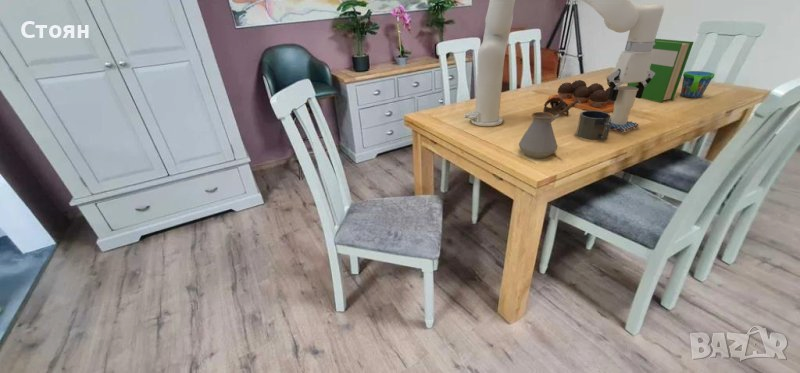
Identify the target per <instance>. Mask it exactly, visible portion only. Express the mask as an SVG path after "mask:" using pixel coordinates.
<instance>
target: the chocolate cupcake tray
mask: <svg viewBox="0 0 800 373" xmlns="http://www.w3.org/2000/svg"><path fill="white" fill-rule="evenodd" d="M610 89H611V88H609V87H608V88H606V89H605V88H604V86H603V85H602V84H600V83H598V82H596V83H592V84H590V85H589V86H588V85H587V83H586V81H584V80H581V79H579V80H575V81H573V82H564V83H561V85H559V86H558V88H557V94H553V95H549V96H548V100H549V99H551V98H553V97H560V98H562V99H563V100H564V101H565V102H566V103H567V105H568V106H569V105H571V103H574V102H575V101H576V100H579V101H580V102H581V103H580V102H579V101H578V103H576V104H577V105H576V104H575V106H573V108H579V109H582V110H584V111H601V112H605V113H611V112H613V110H614V103H615V101H612V100H609V99H608V97H609V93H610ZM558 102H559V103H560V101H558ZM578 105H580V106H578Z"/></svg>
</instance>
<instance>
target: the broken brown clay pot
mask: <svg viewBox="0 0 800 373" xmlns="http://www.w3.org/2000/svg"><path fill="white" fill-rule="evenodd" d="M558 101H560V102H558ZM548 105H550V107H549V106H548ZM543 106H544V107H543V110H542V112H547V113H551V114H556V113H557V114H558V113H559V112H561V111H562V110H563V109H564V108H565V107H567V106H569V105H567V103H566V102H565V101H564V100H563V99H562V98H560V97H553V98H551V99H548V100H546V101H545V102H544V104H543ZM569 113H570V110H568V111H566V112H565V113H564V114H566V115H567V116H569Z"/></svg>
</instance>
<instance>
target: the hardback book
mask: <svg viewBox="0 0 800 373" xmlns="http://www.w3.org/2000/svg"><path fill="white" fill-rule="evenodd" d="M654 42H655V46H653V48H652V51H653V52H652V61H651V66H650V70H652V71H653V72H655V75H654V76H653V78H651V81H650V82H649V83H648V84H647V86H646V87H644V91H643V94H642V97H641V98H640V99H645V100H649V101H652V102H657V103H663V102H664V101H666V100H668V101H674V99H675V96H676V93H677V90H678V87H679V85H680V82H681V79H682V76H683V74H684V72H685V68H686V65H687V61H688V59H689V56H690V53H691V51H692V48H693V45H694V41H688V40H678V39H677V40H675V39H666V38H665V39H664V38H655V41H654ZM636 85H638V84H637V82H636V83H627V84H626V86H631V87H636Z"/></svg>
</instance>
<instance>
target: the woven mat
mask: <svg viewBox="0 0 800 373" xmlns="http://www.w3.org/2000/svg"><path fill="white" fill-rule="evenodd" d="M611 118H612V117H610V121H609V124H610V125H611V127H610V131H613V132H617V133H621V134H624V133H627V132H629V131H631V130H636V129H637V128H639V127H640V126H639V123H637V122H633V121H629V119H628V120H627V124H625V125H617V124H613V123H611Z"/></svg>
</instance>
